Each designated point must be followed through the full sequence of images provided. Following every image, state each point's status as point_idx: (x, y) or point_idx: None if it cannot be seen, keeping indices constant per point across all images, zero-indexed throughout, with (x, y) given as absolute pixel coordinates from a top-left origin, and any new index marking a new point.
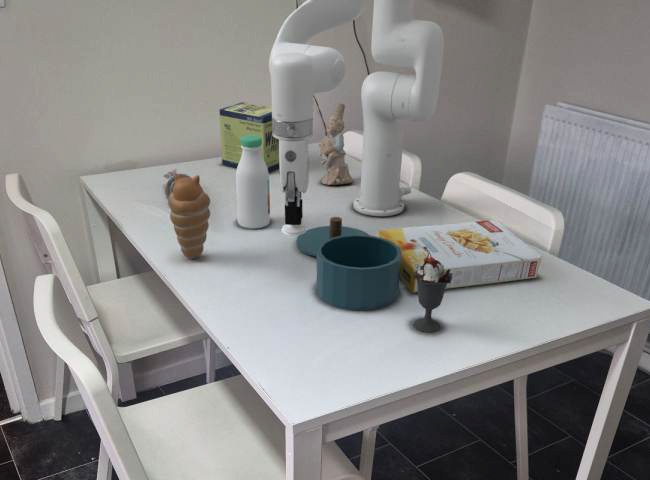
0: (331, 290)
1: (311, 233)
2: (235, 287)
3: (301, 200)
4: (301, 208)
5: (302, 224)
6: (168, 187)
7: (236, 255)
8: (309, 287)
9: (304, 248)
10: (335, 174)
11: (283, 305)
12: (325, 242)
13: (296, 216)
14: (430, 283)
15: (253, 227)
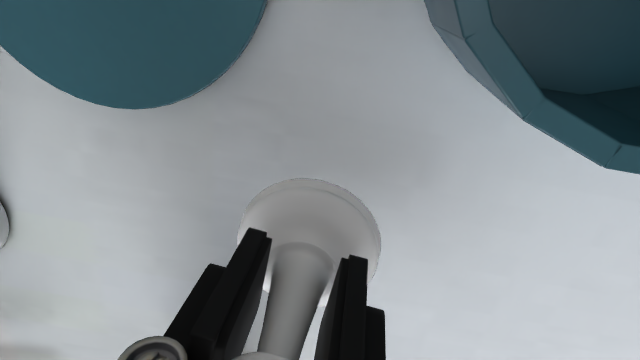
0: None
1: (27, 29)
2: (423, 332)
3: (215, 341)
4: (251, 289)
5: (280, 207)
6: None
7: None
8: (498, 124)
9: (182, 90)
10: None
11: (606, 238)
12: (532, 93)
13: (383, 338)
14: None
15: (5, 220)
